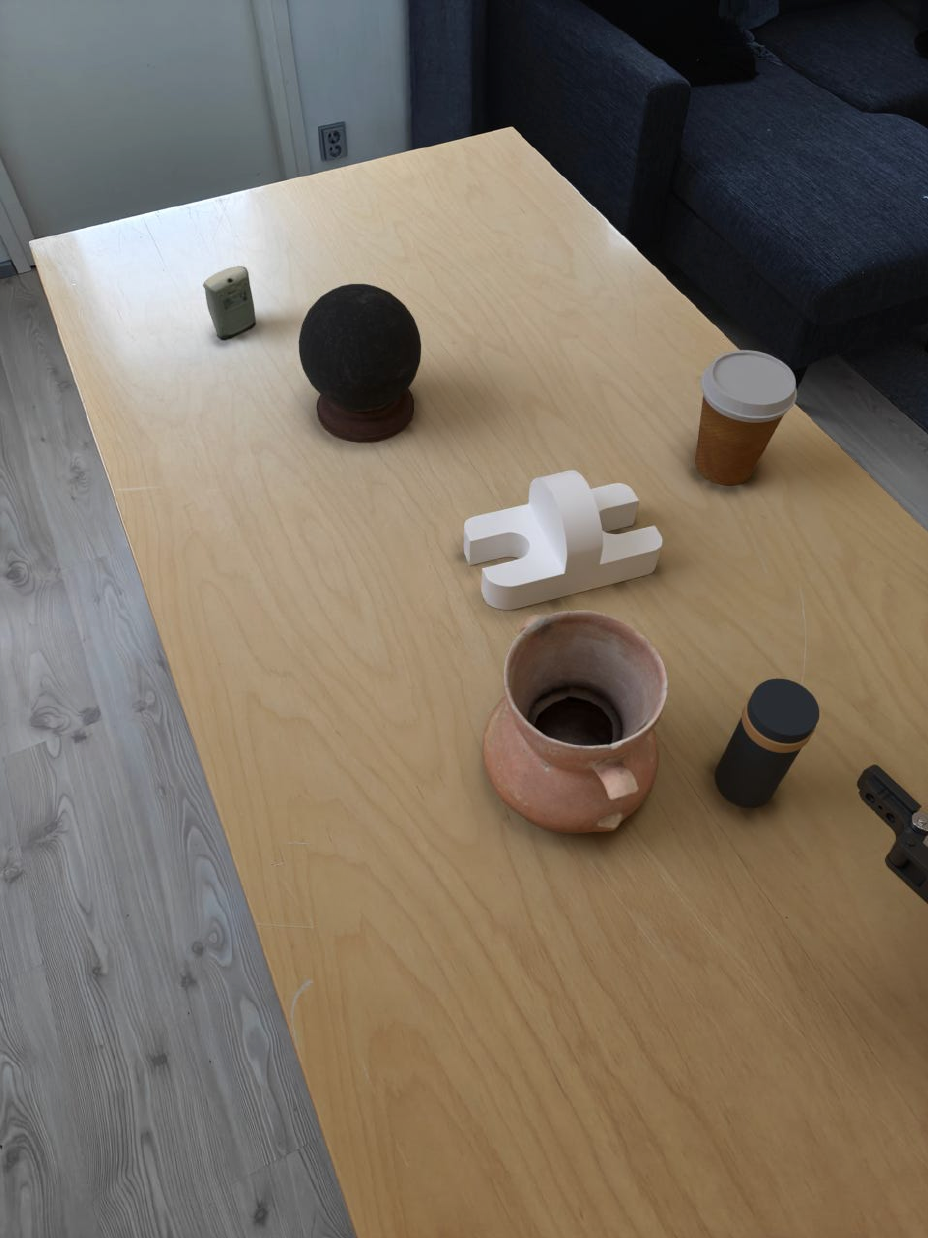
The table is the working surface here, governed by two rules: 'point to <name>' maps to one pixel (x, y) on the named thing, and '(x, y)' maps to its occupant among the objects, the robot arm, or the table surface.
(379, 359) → the ball on stand
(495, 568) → the u-slot mount
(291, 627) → the table surface
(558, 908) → the table surface
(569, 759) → the ceramic jug
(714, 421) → the disposable coffee cup
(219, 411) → the table surface
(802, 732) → the dark cylindrical canister
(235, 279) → the grey rounded block
